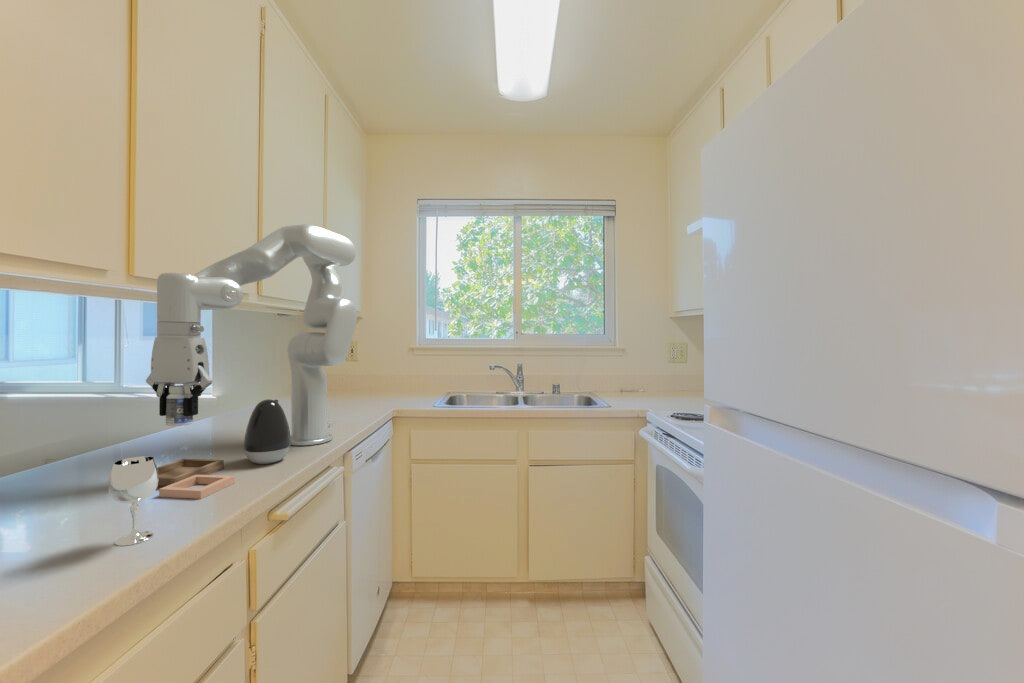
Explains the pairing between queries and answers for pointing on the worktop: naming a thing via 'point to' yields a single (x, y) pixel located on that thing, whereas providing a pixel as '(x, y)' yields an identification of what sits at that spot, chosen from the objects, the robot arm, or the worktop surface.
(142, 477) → the wineglass
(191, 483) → the frame
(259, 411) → the pump dispenser
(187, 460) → the tray
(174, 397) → the pill bottle
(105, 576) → the worktop surface
